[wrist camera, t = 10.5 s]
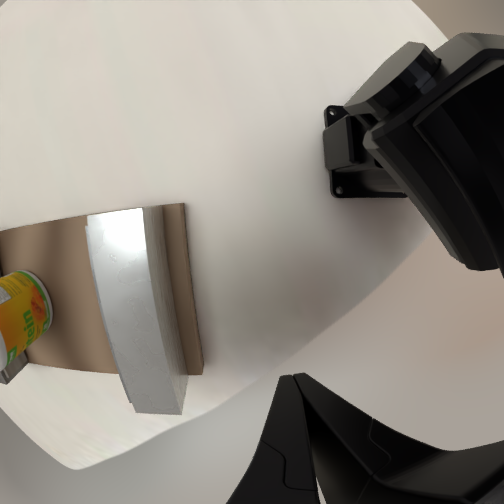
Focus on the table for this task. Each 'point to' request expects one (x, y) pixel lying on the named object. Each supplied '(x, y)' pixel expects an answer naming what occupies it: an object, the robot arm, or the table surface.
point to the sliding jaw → (138, 306)
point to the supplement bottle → (22, 313)
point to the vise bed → (89, 294)
